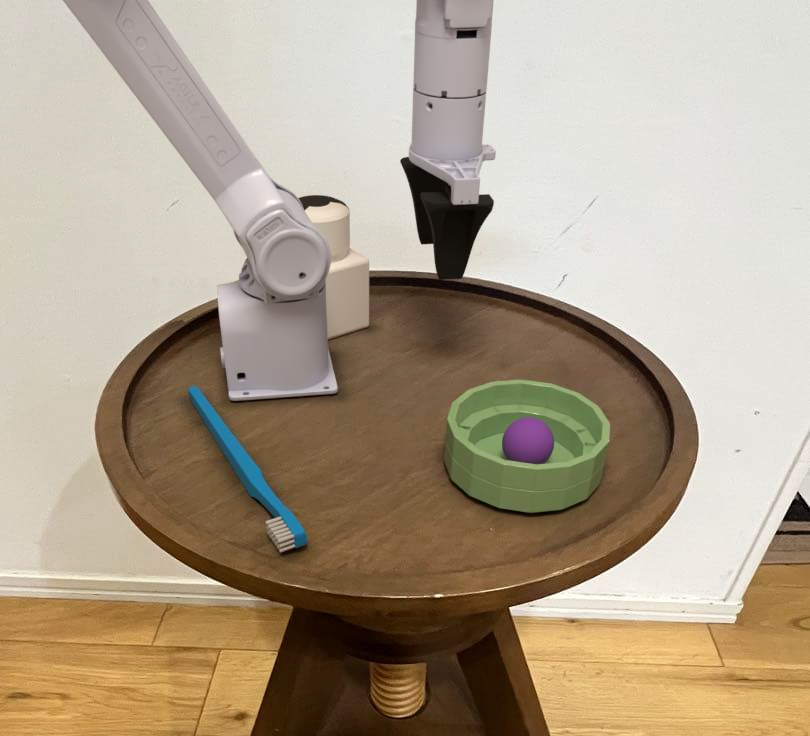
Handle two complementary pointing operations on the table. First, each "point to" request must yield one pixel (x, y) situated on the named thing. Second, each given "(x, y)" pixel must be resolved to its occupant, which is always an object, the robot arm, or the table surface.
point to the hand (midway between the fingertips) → (440, 259)
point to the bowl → (516, 481)
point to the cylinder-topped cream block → (341, 267)
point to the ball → (528, 441)
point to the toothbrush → (251, 477)
